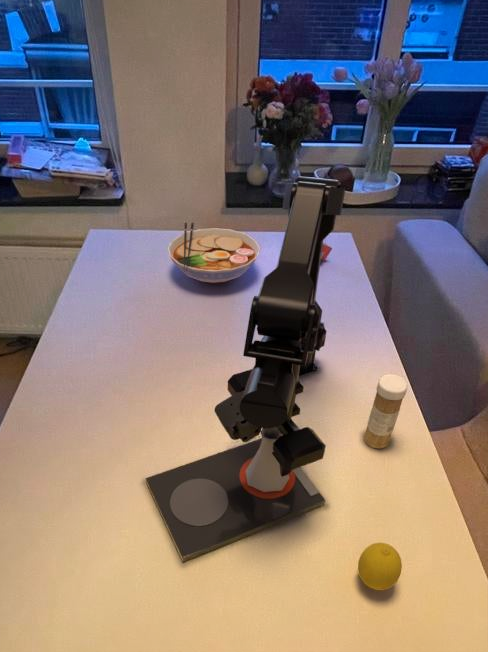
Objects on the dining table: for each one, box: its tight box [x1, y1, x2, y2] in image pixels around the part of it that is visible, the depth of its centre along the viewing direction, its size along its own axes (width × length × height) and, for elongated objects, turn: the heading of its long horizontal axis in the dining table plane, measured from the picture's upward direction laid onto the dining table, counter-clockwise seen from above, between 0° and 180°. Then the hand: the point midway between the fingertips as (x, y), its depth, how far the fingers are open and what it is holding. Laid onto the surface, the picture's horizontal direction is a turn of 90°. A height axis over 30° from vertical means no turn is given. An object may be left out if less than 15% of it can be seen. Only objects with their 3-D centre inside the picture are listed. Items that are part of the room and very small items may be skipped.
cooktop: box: [145, 437, 326, 563], centre depth 84 cm, size 24×16×2 cm, turn 115°
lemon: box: [357, 542, 403, 591], centre depth 70 cm, size 6×6×8 cm
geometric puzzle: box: [321, 240, 333, 262], centre depth 138 cm, size 7×7×8 cm
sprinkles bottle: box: [363, 373, 408, 449], centre depth 88 cm, size 5×5×13 cm
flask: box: [245, 427, 289, 492], centre depth 82 cm, size 7×7×10 cm
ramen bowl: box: [167, 222, 261, 284], centre depth 132 cm, size 25×23×8 cm
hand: (269, 454), depth 81 cm, fingers open, 9 cm apart
